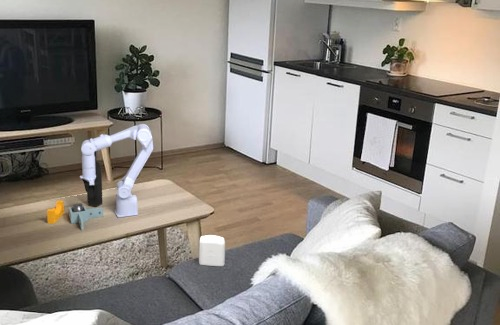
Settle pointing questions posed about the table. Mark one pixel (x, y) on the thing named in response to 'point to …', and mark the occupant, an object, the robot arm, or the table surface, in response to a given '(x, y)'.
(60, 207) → the pipe clamp
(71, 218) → the square tube bracket
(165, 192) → the table surface
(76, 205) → the pin
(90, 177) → the robot arm
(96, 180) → the wine bottle
